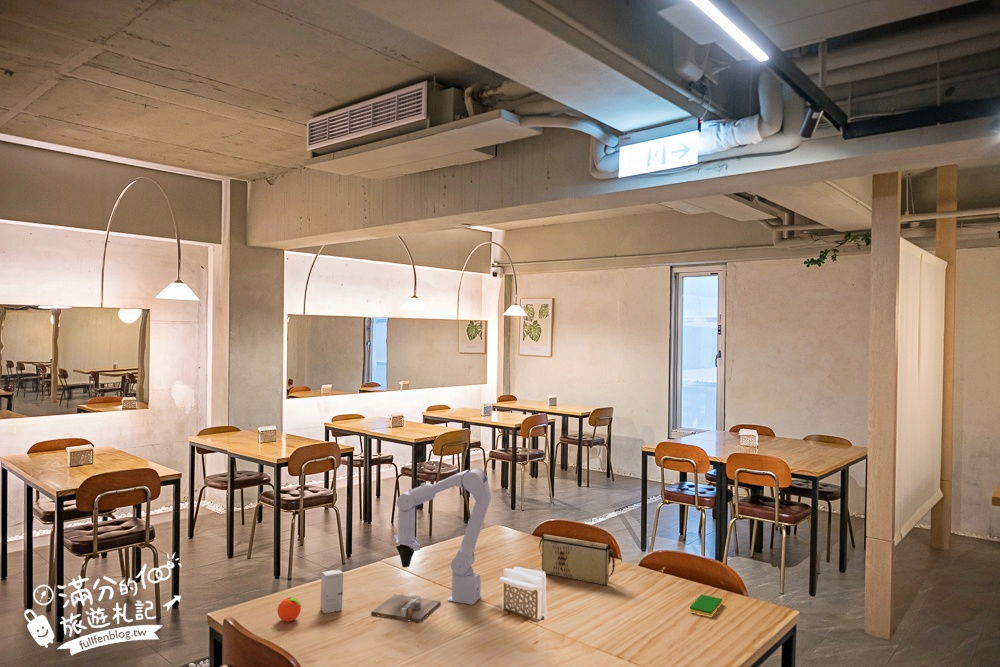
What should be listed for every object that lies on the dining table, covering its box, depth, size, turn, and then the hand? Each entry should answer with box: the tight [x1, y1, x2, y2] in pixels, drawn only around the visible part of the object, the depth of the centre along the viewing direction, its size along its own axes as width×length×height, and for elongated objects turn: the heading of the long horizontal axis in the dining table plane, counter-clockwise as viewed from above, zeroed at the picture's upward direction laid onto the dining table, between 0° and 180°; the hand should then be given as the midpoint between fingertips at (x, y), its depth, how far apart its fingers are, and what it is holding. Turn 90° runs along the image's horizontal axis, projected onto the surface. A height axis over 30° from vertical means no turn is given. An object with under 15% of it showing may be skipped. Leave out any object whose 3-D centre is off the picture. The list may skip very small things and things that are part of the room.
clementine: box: [277, 596, 303, 622], centre depth 206 cm, size 8×7×7 cm
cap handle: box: [401, 595, 422, 617], centre depth 213 cm, size 12×4×2 cm, turn 166°
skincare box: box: [319, 569, 344, 614], centre depth 215 cm, size 6×4×12 cm
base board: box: [370, 594, 441, 623], centre depth 217 cm, size 17×16×3 cm
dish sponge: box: [689, 594, 723, 616], centre depth 222 cm, size 7×14×2 cm, turn 147°
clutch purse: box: [538, 533, 616, 586], centre depth 250 cm, size 30×7×15 cm, turn 62°
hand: (405, 566), depth 230 cm, fingers closed
